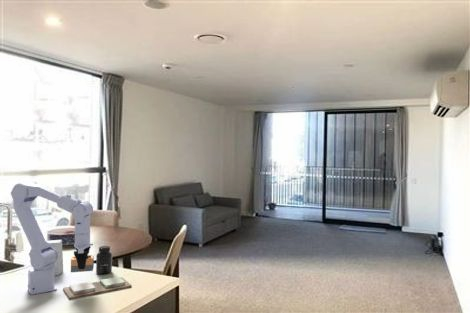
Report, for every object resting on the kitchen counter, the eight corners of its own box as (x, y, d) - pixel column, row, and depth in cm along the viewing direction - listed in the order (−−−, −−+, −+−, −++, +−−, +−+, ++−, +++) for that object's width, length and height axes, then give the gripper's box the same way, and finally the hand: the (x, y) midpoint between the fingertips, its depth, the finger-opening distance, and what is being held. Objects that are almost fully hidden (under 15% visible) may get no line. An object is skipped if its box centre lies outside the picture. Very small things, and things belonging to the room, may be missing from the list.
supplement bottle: (102, 276, 170) (102, 249, 170) (92, 273, 174) (93, 247, 174) (115, 272, 176) (115, 246, 176) (105, 269, 180) (105, 244, 179)
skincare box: (63, 271, 177) (63, 239, 177) (60, 275, 171) (60, 242, 171) (43, 272, 175) (43, 240, 175) (40, 276, 169) (40, 243, 169)
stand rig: (69, 299, 143) (69, 294, 143) (63, 290, 153) (63, 285, 153) (131, 287, 157) (131, 282, 157) (121, 279, 166) (122, 274, 166)
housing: (92, 270, 150) (92, 257, 150) (70, 272, 148) (70, 258, 148) (93, 267, 155) (93, 254, 155) (72, 268, 152) (72, 255, 152)
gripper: (92, 236, 145) (91, 271, 145) (94, 228, 159) (94, 261, 159) (72, 237, 143) (71, 273, 143) (76, 229, 157) (75, 262, 157)
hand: (82, 266), depth 151 cm, fingers closed on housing, 5 cm apart
